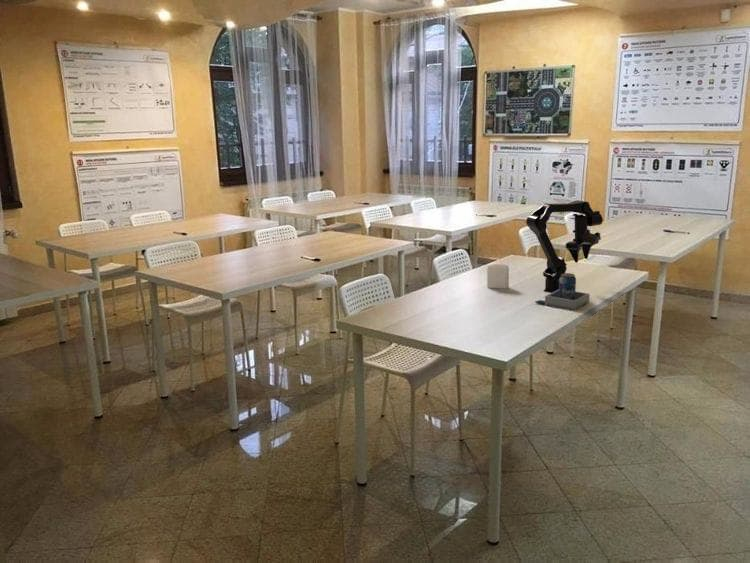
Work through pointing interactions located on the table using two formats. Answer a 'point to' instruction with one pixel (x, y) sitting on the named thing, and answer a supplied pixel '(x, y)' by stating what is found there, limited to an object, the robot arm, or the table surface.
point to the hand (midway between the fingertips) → (581, 260)
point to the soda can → (567, 286)
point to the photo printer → (498, 275)
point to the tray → (567, 300)
